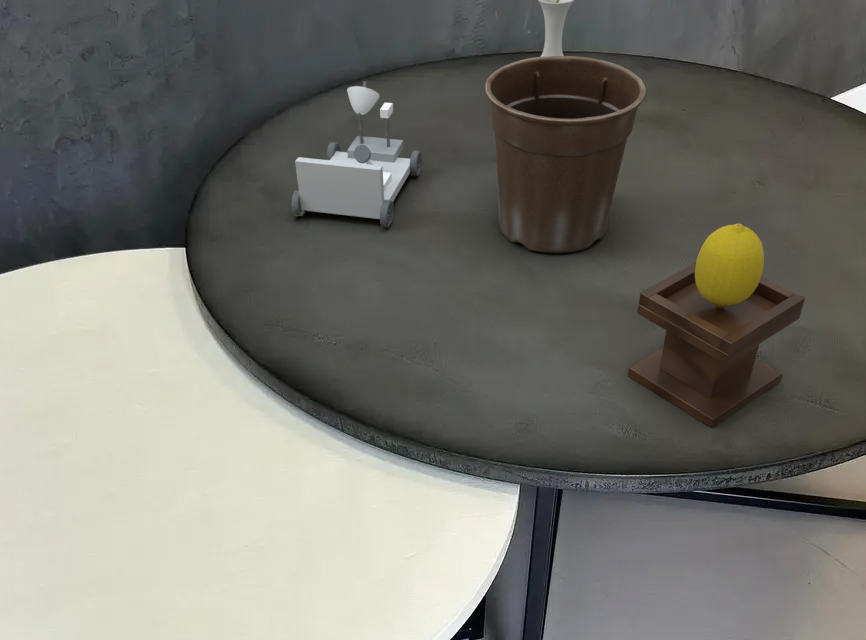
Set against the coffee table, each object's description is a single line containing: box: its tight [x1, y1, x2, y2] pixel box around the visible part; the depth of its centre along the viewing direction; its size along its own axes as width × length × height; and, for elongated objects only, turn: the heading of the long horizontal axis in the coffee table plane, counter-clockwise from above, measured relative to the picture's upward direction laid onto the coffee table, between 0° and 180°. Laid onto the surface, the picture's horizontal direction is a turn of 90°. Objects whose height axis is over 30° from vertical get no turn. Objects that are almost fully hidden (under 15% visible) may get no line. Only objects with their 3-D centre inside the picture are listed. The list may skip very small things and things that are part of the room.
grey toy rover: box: [290, 80, 423, 228], centre depth 117 cm, size 18×10×12 cm
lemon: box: [695, 223, 765, 308], centre depth 84 cm, size 6×6×8 cm
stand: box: [627, 261, 806, 428], centre depth 89 cm, size 10×10×9 cm
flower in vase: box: [537, 0, 575, 57], centre depth 126 cm, size 13×11×25 cm
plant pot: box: [484, 55, 646, 254], centre depth 107 cm, size 16×16×16 cm
